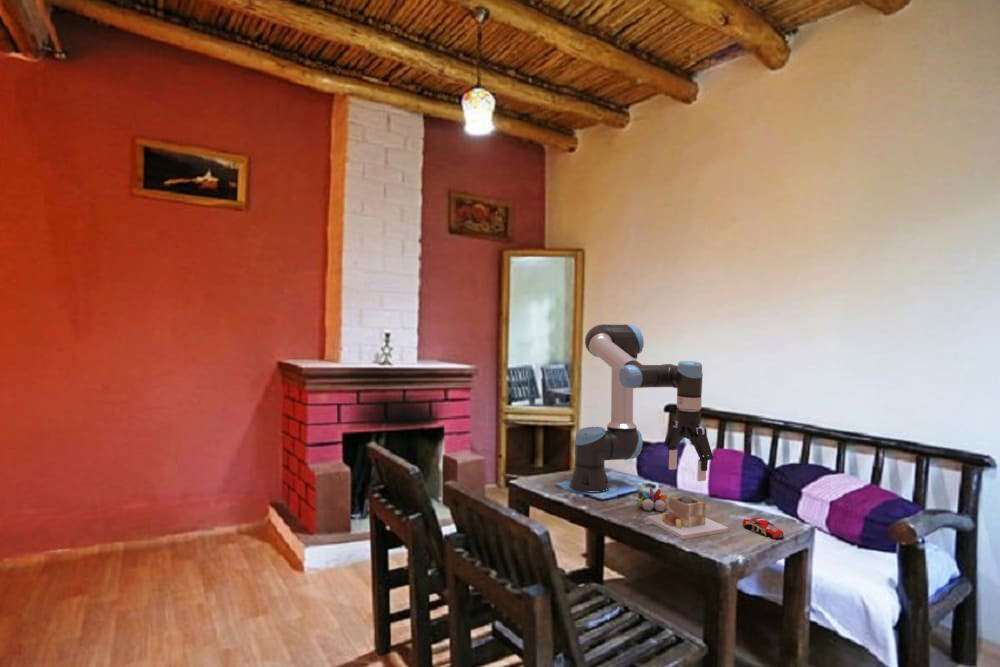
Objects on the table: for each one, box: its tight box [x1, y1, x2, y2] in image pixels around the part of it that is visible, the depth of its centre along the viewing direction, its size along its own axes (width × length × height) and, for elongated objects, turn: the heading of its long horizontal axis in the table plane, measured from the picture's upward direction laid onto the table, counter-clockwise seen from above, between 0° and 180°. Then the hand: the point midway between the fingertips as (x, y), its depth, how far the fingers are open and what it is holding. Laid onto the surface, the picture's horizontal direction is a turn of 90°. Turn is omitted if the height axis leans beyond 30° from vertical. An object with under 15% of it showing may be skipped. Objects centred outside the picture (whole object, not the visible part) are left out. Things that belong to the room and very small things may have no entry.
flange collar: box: [665, 495, 707, 528], centre depth 182 cm, size 12×8×7 cm
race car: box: [742, 516, 784, 540], centre depth 178 cm, size 13×5×4 cm, turn 25°
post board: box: [645, 495, 730, 540], centre depth 183 cm, size 18×18×9 cm
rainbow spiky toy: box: [638, 487, 669, 513], centre depth 200 cm, size 8×10×7 cm
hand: (686, 474), depth 183 cm, fingers open, 13 cm apart
